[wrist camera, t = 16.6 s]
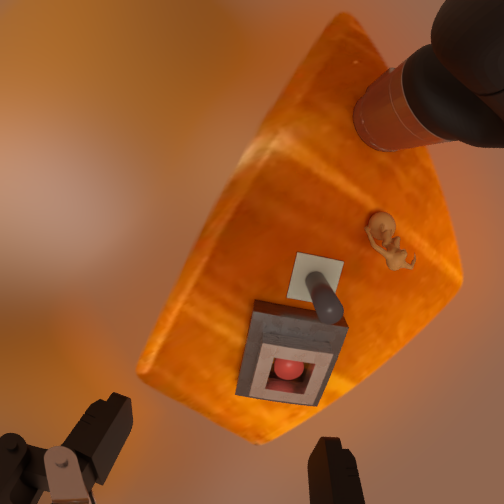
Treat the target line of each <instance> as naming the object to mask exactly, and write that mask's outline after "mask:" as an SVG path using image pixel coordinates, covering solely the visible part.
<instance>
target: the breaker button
mask: <svg viewBox="0 0 504 504" xmlns="http://www.w3.org/2000/svg"><path fill="white" fill-rule="evenodd" d="M274 370H275V373H276V375H277V376H278V377H280V378H282V379H285V380H291V379H295V378H297V377H299V376H300V375H301V374H302V372H303V370H304V364H303V362H299V361H292V360H286V359H280V358H274Z"/></svg>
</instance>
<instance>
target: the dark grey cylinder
mask: <svg viewBox="0 0 504 504" xmlns="http://www.w3.org/2000/svg"><path fill="white" fill-rule="evenodd" d="M305 284H306V287H307V289H308V292H309V294H310V297H311V299H312V302H313V305H314V307H315V310H316V313H317V315H318V318H319V320H320V321H321V322H322V323H324V324H328V325H330V324H334V323H336V322H338V321H339V320H340V319H341V318H342V316H343V313H344V309H343V306H342V304H341V303H340V301H339V299H338V298H337V296H336V294H335V293H334V291H333V289H332V288H331V286H330V284H329V283H328V281H327V280H326V278H325V276H324V275H323V274H322V273H321V272H318V271H314V272H311V273H309V274H308V275H307V277H306V280H305Z"/></svg>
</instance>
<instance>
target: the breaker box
mask: <svg viewBox="0 0 504 504" xmlns="http://www.w3.org/2000/svg"><path fill="white" fill-rule="evenodd" d="M348 328H349V327H348V325H347V323H346V321H345V319H344V316H342V318H341V319H340V320H339V321H338V322H336V323H334V324H330V325H328V324H324V323H322V322H321V321H320V320H319V318H318V315H317V313H316V311H313V310H307V309H302V308H296V307H290V306H285V305H280V304H274V303H269V302H264V301H259V300H255V302H254V307H253V312H252V316H251V321H250V326H249V330H248V335H247V340H246V344H245V349H244V354H243V358H242V363H241V367H240V372H239V376H238V381H237V387H236V392H235V395H239V396H245V397H250V398H256V399H262V400H268V401H275V402H282V403H290V404H298V405H307V406H317V405H318V403H319V401H320V399H321V396H322V394H323V392H324V389H325V387H326V385H327V382H328V380H329V378H330V375H331V373H332V370H333V368H334V365H335V363H336V360H337V358H338V355H339V353H340V350H341V347H342V345H343V342H344V339H345V337H346V334H347V331H348ZM274 358H280V359H286V360H292V361H299V362H303V364H304V370H303V372H302V374H301V375H300V376H299V377H297V378H295V379H291V380H285V379H282V378H280V377H278V376H277V375H276V373H275V370H274V364H272V363H273V359H274Z"/></svg>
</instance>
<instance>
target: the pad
mask: <svg viewBox="0 0 504 504" xmlns="http://www.w3.org/2000/svg"><path fill="white" fill-rule="evenodd" d="M343 263H344V261H340V260H335V259H330V258H325V257H321V256H316V255H311V254H306V253H301V252H297V255H296V260H295V264H294V268H293V272H292V276H291V280H290V285H289V289H288V293H287V298H292V299H298V300H303V301H309V302H312V299H311V297H310V294H309V292H308V289H307V287H306V284H305V280H306V277H307V275H308V274H309V273H311V272H314V271H318V272H321V273H322V274H323V275H324V276H325V278H326V280H327V281H328V283H329V284H330V286H331V288H332V289H333V291H334V293H335V292H336V288H337V285H338V281H339V278H340V274H341V271H342V267H343Z"/></svg>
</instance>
